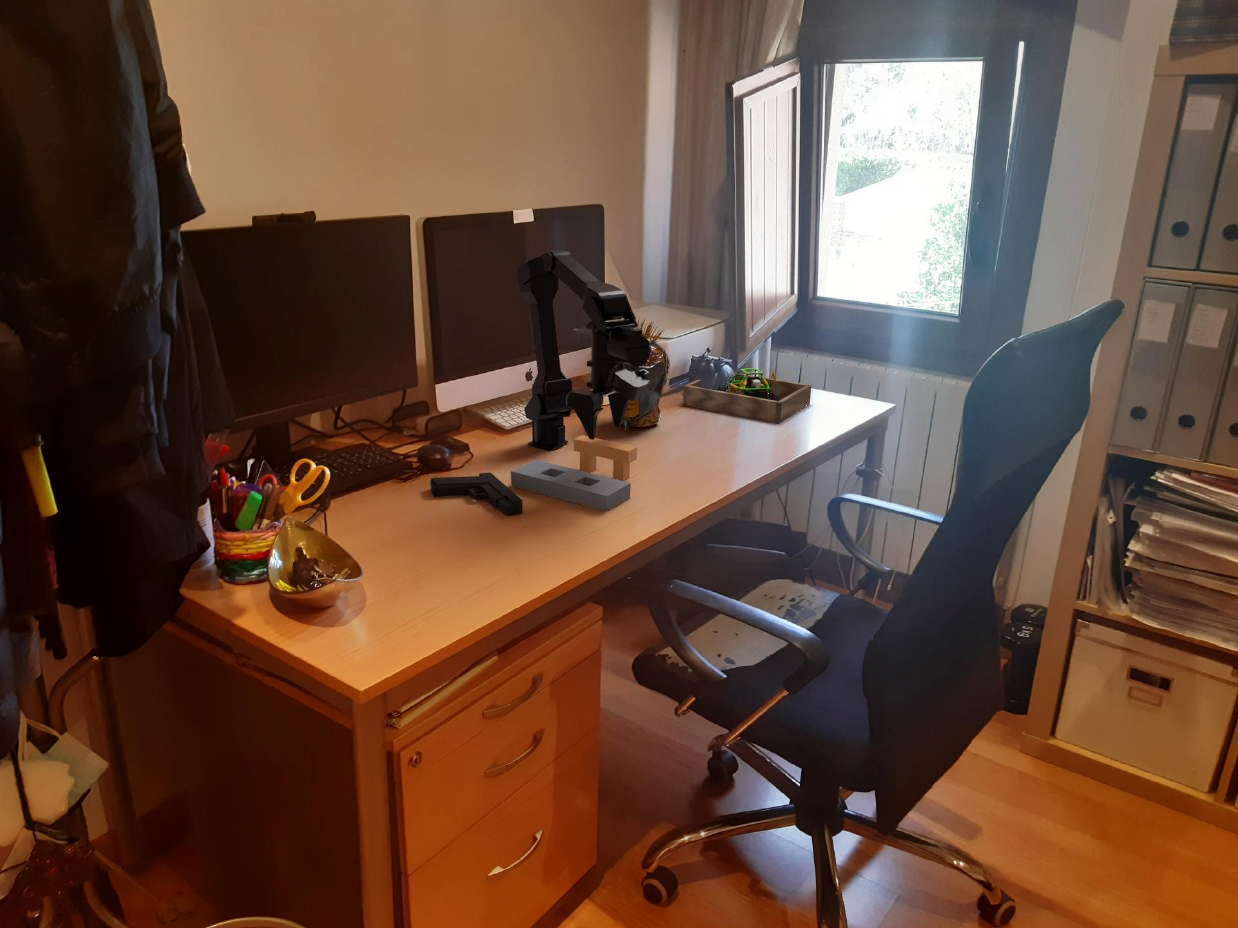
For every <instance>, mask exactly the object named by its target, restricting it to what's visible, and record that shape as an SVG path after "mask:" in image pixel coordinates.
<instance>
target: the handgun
mask: <svg viewBox="0 0 1238 928" xmlns="http://www.w3.org/2000/svg"><path fill="white" fill-rule="evenodd" d="M429 482H430V483H429V484H430V491H431V494H432V497H438V498H439V497H440V498H441V497H446V498H447V497H471V498H472V499H473V500H476V501H482V500H483V501H484V500H486V501H487V502H488V503H489V504H491V506H492V507H493V508H495V510H499V511H501V512H502V513H503V514H504V516H508V515H513V516H518V515H523V513H524V512H523V505H524V504H523V499H522V498H521V497H520V496H518V495H517V494H516V493H515V492H514V491H512V489H510V488H509V487H508V486H507V485H506V484H505V483H504V482H502V481H501V480H500V479H499V478H497V476H495V475H494V473H492V472H480V473H478V475H474V476H445V477H444V476H442V477H431V479H430V480H429Z"/></svg>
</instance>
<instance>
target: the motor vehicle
mask: <svg viewBox="0 0 1238 928" xmlns="http://www.w3.org/2000/svg"><path fill="white" fill-rule="evenodd" d="M747 371H754V372H747ZM741 372H742V373H743V374H746V376H744V377H736V376H737V375H738V374H739V373H740V374H741ZM736 373H737V374H736V375H735V376H734V377H730V378H733V379H732V380H731V379H729V381H730V383H728V382H727V384H729V388H728V386H727V388H726V387H725V385H719V388H718V391H723V392H729V393H734V394H740V395H746V396H751V397H757V398H762V399H768V400H774V401H780V400H781V396H780V393H779V392H778V391H777V390H771V384H769V386H768V383H767V381H766V380H765V379H764V378H765V377H764V372H763V371H762V370H759V369H757V368H749V367H746V368H741V369H739V371H738V372H736ZM748 375H752V376H755V377H747V376H748ZM757 375H760V376H758V377H756V376H757ZM760 377H761V379H762V383H763V384H764V385H763V384H761V382H760ZM763 377H764V378H763ZM734 378H743V380H740V381H734V382H733V383H731V382H732V381H733V380H734ZM770 379H774V381H775V382H776V380H777V377H776V372H775V371H772V374H771V377H770ZM770 383H771V381H770ZM767 389H769V394H768V393H767ZM726 390H727V391H726ZM739 406H740V404H739Z"/></svg>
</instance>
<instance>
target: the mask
mask: <svg viewBox="0 0 1238 928" xmlns="http://www.w3.org/2000/svg"><path fill="white" fill-rule="evenodd" d="M640 319H641V318H640V317H639V318H638V321H637V325H638V326H637V327H636V328H635V329H642V330H643V334H642V336H643V337H645V338H646V339H647V340H648V341H649V344H650V347H651V353H650V356H649V359H648V360H647V362H646V363H645V364H643V365H642V366H640V367H634V366H631V365H628V364H627V370H628V371H630V372H633V371H634V372H635V374H636V373H637V372H638V371H640V370H642V369H645V370H647V371H648V372H649V374H650V383H649V384H650V388H647V389H646V390H645V393H644V396H643V397H642V398H638V399H636V400H635V401H629V404H628V406H627V409H626V411H625V414H624V417H623V420H622V423H621V425H624V431H625V432H624V433H626V432H627V429H628V428H630V427H631V428H642V427H649V426H653V425H656V424H658V423H659V422H660V421H661V419H662V413H661V406H659V405H660V399H661V397H662V395H663V391H664V388H665V386H666V384H667V382H668V377H669V376H668V375H669V373H670V372H669V371H670V366H671V364H670V358H669V354H668V353H667V351H666V350H665V348H663V347H662V345H659V344H657V343H658V342H660V340H658V339H659V338H660V336H661V335H662V333H664V332H665V330H661V329H659V330H658V331H657V332H656V330H657V328H658V327H659V325H658V326H656V324H657V323H656V324H655V325H654V321H650V322H649V323H648V325H645V327H644V323H645V321H646V318H644V320H641V322H640ZM653 325H654V326H653ZM655 326H656V328H655ZM643 327H644V329H643ZM654 328H655V329H654ZM655 332H656V334H655ZM654 334H655V335H654ZM657 340H658V341H657Z"/></svg>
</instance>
